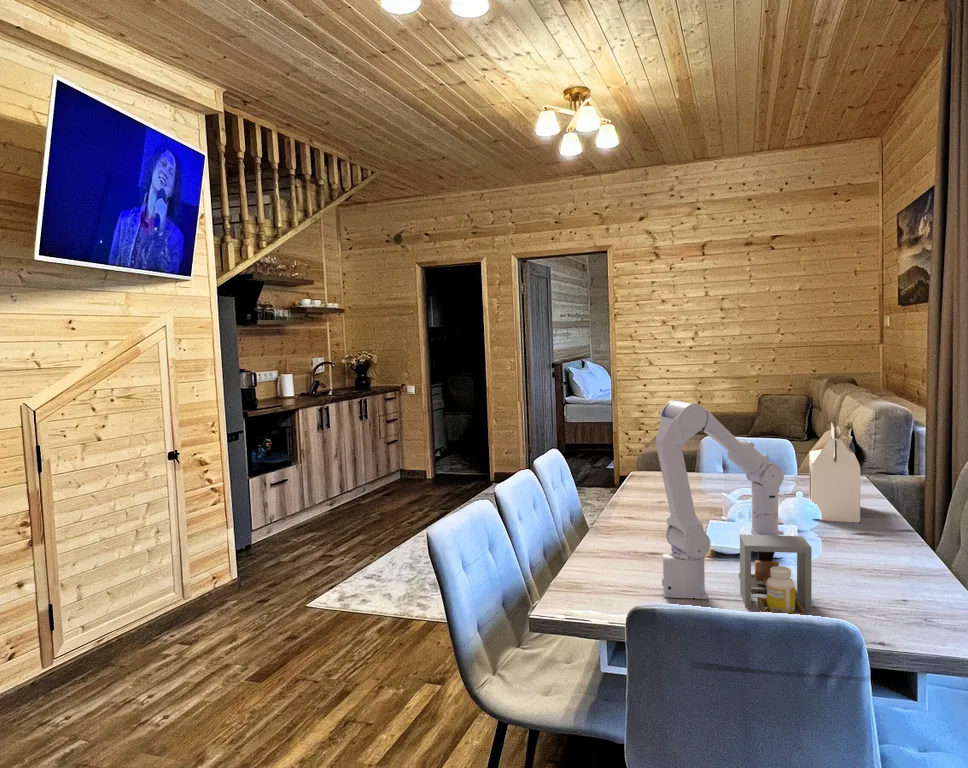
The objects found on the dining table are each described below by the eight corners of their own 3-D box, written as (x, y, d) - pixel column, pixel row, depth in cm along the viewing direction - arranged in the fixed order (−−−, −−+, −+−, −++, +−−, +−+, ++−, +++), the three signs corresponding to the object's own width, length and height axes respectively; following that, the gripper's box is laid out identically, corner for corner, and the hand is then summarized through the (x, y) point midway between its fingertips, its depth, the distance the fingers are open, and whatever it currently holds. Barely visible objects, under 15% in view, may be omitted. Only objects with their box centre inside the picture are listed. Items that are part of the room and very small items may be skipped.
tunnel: (745, 607, 148) (744, 545, 147) (740, 593, 155) (739, 534, 154) (811, 610, 145) (811, 547, 144) (802, 596, 152) (802, 536, 151)
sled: (764, 622, 140) (763, 596, 139) (747, 582, 161) (747, 560, 161) (807, 624, 138) (807, 598, 137) (785, 584, 159) (784, 561, 159)
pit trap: (744, 591, 156) (744, 588, 156) (738, 576, 166) (738, 573, 166) (796, 594, 154) (796, 590, 154) (787, 578, 163) (787, 575, 163)
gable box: (860, 523, 205) (860, 431, 202) (811, 520, 210) (811, 429, 208) (853, 505, 225) (854, 420, 223) (809, 502, 230) (809, 420, 228)
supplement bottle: (787, 608, 146) (787, 564, 145) (800, 619, 141) (800, 573, 140) (762, 610, 146) (762, 565, 145) (774, 620, 141) (774, 574, 140)
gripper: (789, 521, 152) (789, 580, 153) (777, 504, 166) (777, 558, 167) (756, 520, 154) (756, 579, 155) (746, 503, 168) (746, 557, 169)
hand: (765, 568), depth 161 cm, fingers closed
